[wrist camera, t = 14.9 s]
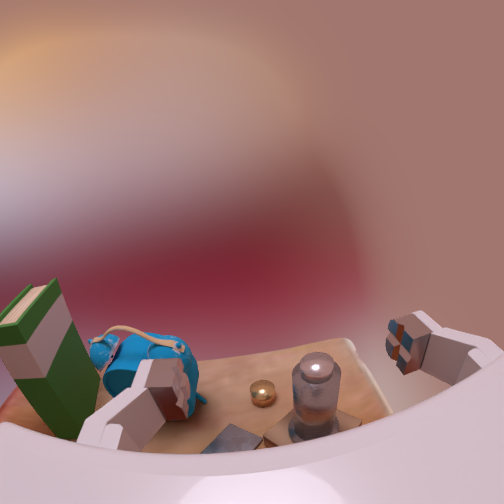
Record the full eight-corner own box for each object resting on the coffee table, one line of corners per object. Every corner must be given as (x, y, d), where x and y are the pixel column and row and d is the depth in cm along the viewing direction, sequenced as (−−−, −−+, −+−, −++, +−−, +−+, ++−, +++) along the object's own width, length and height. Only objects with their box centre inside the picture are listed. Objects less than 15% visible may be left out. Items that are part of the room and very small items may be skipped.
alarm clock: (218, 392, 44) (192, 296, 38) (209, 436, 35) (170, 338, 28) (137, 387, 46) (99, 300, 39) (118, 424, 36) (65, 333, 30)
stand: (319, 478, 25) (320, 470, 24) (264, 445, 32) (262, 435, 31) (359, 430, 32) (362, 420, 31) (307, 406, 39) (307, 395, 38)
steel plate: (231, 478, 27) (230, 475, 27) (199, 459, 31) (197, 456, 30) (263, 441, 33) (262, 438, 33) (231, 427, 37) (230, 423, 36)
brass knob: (264, 411, 39) (262, 400, 38) (247, 400, 42) (244, 389, 41) (280, 397, 42) (279, 386, 41) (263, 387, 44) (261, 376, 43)
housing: (318, 458, 26) (325, 395, 22) (278, 434, 31) (270, 368, 27) (348, 423, 31) (360, 354, 26) (309, 405, 36) (309, 336, 31)
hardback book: (73, 380, 46) (28, 284, 39) (100, 377, 48) (56, 278, 40) (58, 438, 30) (-14, 329, 22) (90, 438, 32) (17, 324, 24)
